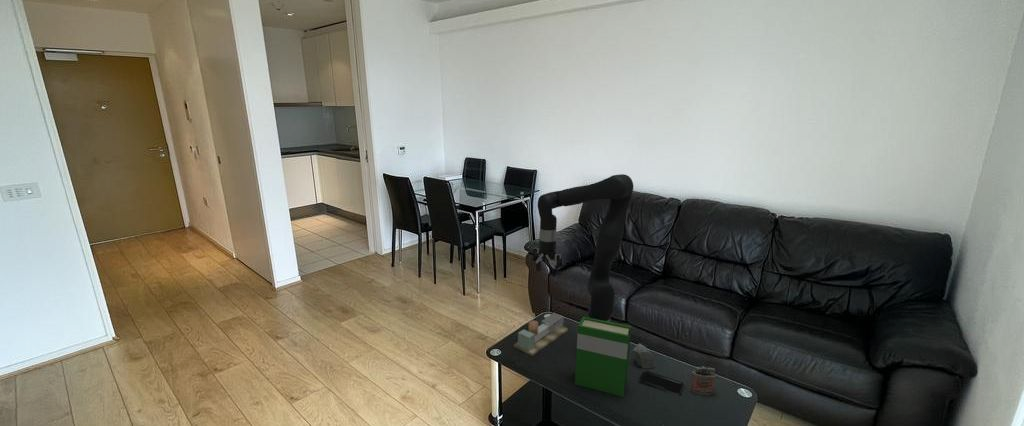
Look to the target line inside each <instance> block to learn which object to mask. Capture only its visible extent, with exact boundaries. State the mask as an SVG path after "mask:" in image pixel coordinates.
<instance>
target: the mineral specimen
mask: <svg viewBox="0 0 1024 426" xmlns="http://www.w3.org/2000/svg"><path fill="white" fill-rule="evenodd" d="M632 350H633V353H634V356H635V361H636V363H637V365H638V366H639V367H641V368H642V369H643V370H645V369H646V370H647V369H654V368H655V361H654V358H653V355H652V353H651V352H650V350H649V349H648V348H647V346H645V345H643V344H642V343H639V342H638V344H636V346H635V347H634V348H633V349H632Z"/></svg>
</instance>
